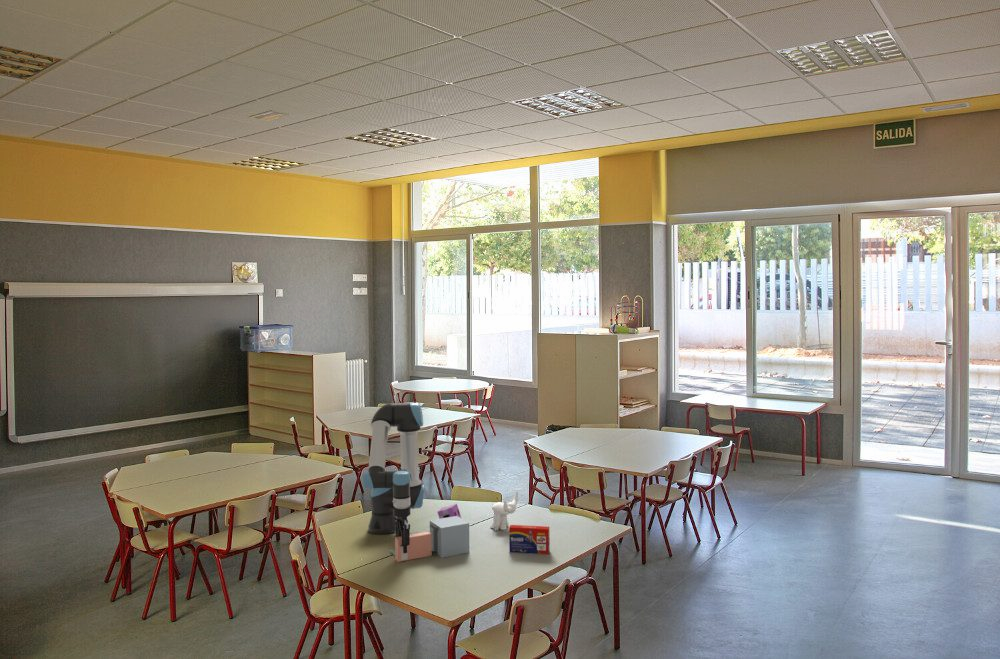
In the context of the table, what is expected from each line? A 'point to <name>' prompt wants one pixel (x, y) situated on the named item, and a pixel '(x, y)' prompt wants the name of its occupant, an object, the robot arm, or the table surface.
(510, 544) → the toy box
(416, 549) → the long salmon pink block
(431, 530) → the pale blue cube
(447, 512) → the toy
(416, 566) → the table surface
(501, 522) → the toy animal
